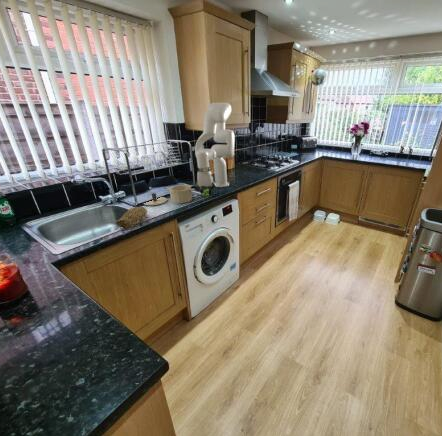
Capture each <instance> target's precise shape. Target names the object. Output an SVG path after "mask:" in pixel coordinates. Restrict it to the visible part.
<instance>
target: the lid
mask: <svg viewBox="0 0 442 436" xmlns="http://www.w3.org/2000/svg"><path fill="white" fill-rule="evenodd" d="M157 197H158V196H157V193H156V192H152V193H151V198H152V199H153V200H152V201H149V202H146V203H143V202H142V204H143V205H145V206H157V205H162V204H165V203H166V202H167V200H168V199H167V198H166V197H164V196H159V197H160V198H158V199H157Z"/></svg>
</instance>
